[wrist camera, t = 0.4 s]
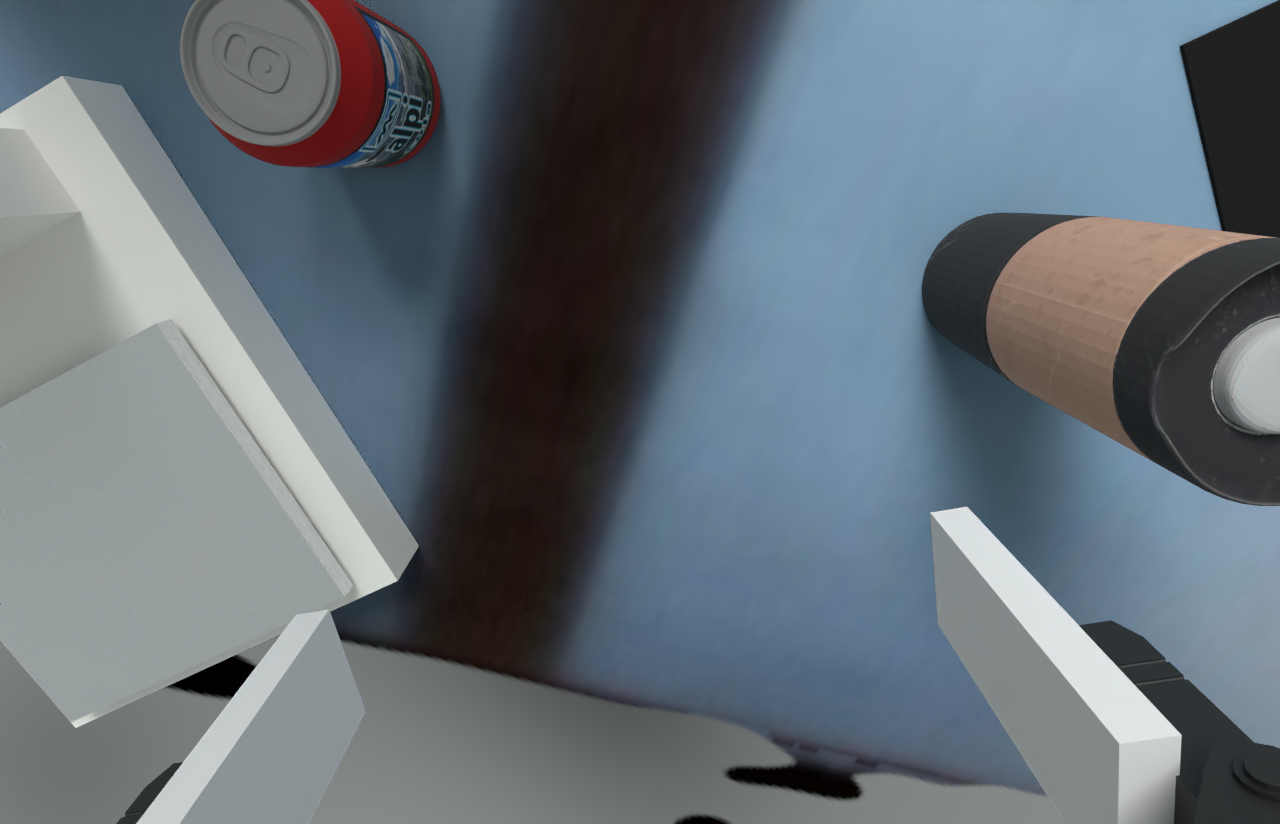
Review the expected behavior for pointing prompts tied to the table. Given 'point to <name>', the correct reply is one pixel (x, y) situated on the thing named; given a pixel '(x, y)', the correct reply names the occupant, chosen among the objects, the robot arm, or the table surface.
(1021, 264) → the travel mug
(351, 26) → the beverage can
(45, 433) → the weighing pan
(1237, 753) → the robot arm
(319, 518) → the scale
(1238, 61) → the sushi
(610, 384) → the table surface
